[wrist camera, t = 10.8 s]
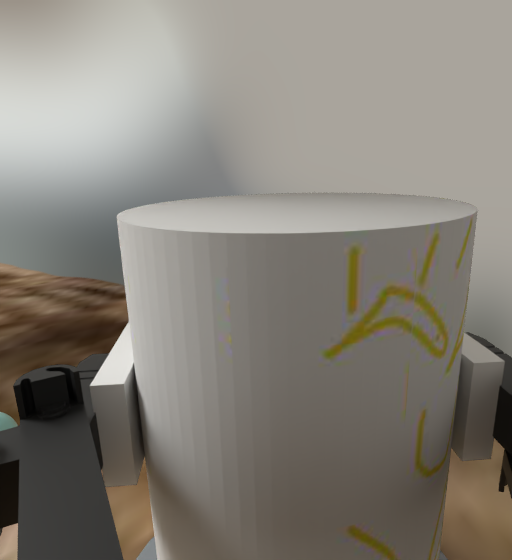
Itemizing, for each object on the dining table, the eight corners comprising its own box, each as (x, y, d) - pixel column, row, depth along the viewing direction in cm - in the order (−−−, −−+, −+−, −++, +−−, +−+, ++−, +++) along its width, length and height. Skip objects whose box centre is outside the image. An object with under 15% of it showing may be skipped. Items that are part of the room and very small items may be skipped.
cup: (383, 860, 8) (436, 250, 5) (106, 628, 12) (36, 219, 9) (451, 544, 15) (493, 194, 12) (254, 463, 19) (245, 191, 16)
